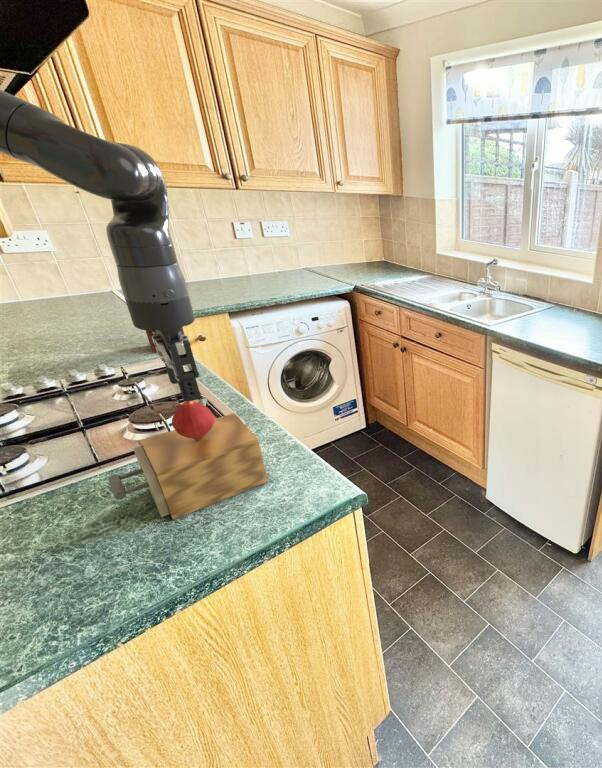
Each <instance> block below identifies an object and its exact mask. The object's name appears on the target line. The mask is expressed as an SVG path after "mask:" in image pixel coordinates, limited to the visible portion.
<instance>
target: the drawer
mask: <svg viewBox="0 0 602 768" xmlns="http://www.w3.org/2000/svg"><path fill="white" fill-rule="evenodd" d="M132 449H133V453H134V454H135V457H136V460H137V463H138V465H139V468H138V469H135V470H132V471H129V472H126V473H123V474H120V475H119V474H116V473H114V474H110V475H109V476H108V478H107V479H108V480H107V481H108V483H109V486H110V488H111V489H110V490H111V492H112V494H113V498H114V499H116V500H123V499H125V498H126V497H127V495H129V494H131V493H135V492H138V491H141V490H143V489H146V488H148V491H149V493H150V494H151V497H152V499H153V502H154V504H155V506H156V508H157V511H158V513H159V515H160V517H161V518H163V517H166V516H168V515H170V511H169V508H168V506H167V503H166V500H165V498H164V495H163V492H162V489H161V487H160V484H159V481H158V479H157V476H156V474H155V472H154V470H153V468H152V466H151V463H150V461H149V459H148V457H147V455H146V453H145V451H144V449H143V447H142V445H140V446H136V447H133V448H132ZM140 474H142V475H143V478H144V480H145V481H144V482H143V483H140V484H138V485H134V486H132V487H129V488H125V486H124V484H123V481H122V480H124V479H125V480H126V479H128V478H130V477H134V476H137V475H140Z"/></svg>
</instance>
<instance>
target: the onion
mask: <svg viewBox="0 0 602 768" xmlns="http://www.w3.org/2000/svg"><path fill="white" fill-rule="evenodd" d="M214 423H215V415H214V413H213V412H212V410H211V409H210V408H209V407H208V406H207V405H206V406H205V405H202V404H200V403H198V401H197V402H196V401H194V400H193V401H189V402H186V401H184V402H183V403H182V404H181V405H180V406H178V407H177V408H176V410H175V412H174V414H173V415H172V419H171V426H172V428H173V429H174V430H176V432H177V433H178V434H180V435H181V436H184V437H187V438H191V439H195V440H201V439H202V438H203V437H204V436H205V435H206V434H207V433H208V432H209V431H210V430H211V429H212V427H213V425H214Z"/></svg>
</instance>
